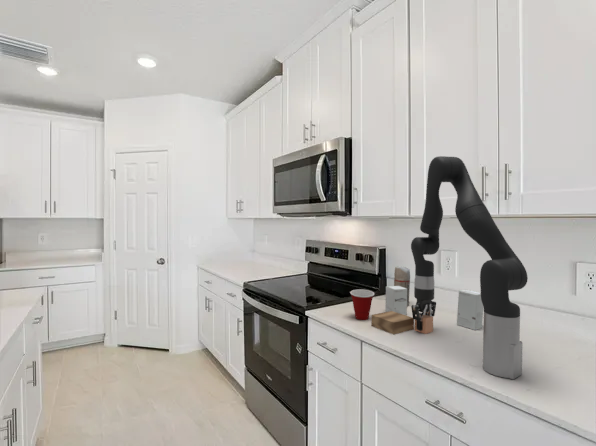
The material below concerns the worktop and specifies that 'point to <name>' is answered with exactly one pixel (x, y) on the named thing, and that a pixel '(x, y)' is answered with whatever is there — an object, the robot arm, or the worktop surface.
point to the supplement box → (396, 299)
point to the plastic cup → (362, 303)
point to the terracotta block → (426, 324)
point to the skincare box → (470, 309)
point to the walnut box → (392, 322)
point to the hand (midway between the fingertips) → (423, 328)
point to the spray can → (402, 279)
